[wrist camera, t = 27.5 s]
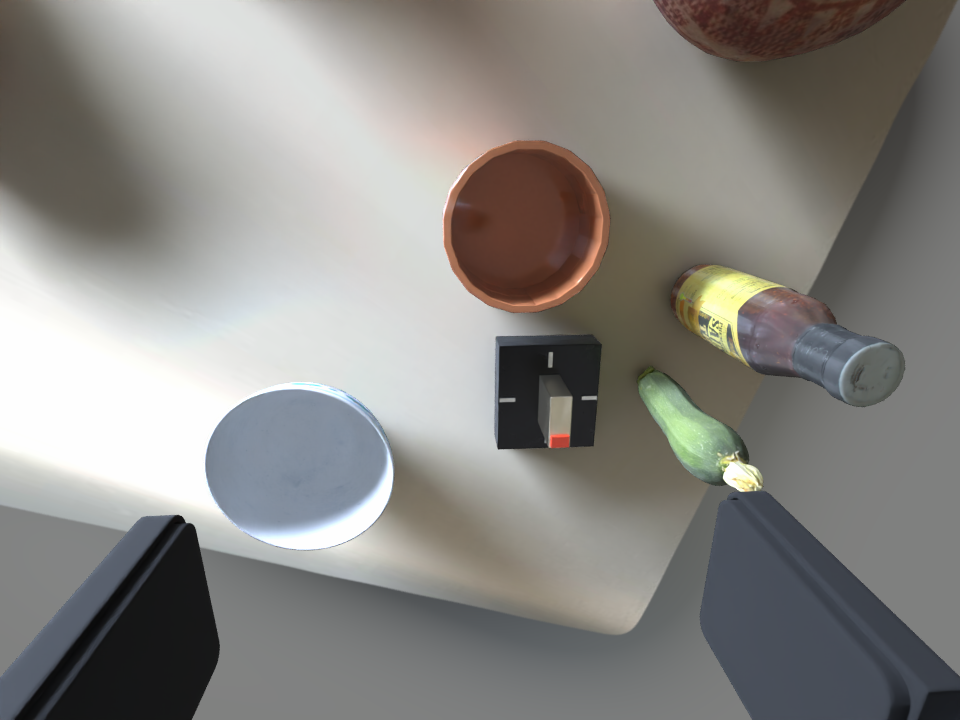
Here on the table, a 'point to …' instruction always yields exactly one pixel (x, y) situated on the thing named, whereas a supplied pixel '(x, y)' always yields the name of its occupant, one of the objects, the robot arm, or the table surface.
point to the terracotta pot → (526, 226)
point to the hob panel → (520, 386)
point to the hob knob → (555, 411)
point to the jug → (770, 24)
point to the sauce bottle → (785, 334)
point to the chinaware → (300, 466)
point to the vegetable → (697, 435)
